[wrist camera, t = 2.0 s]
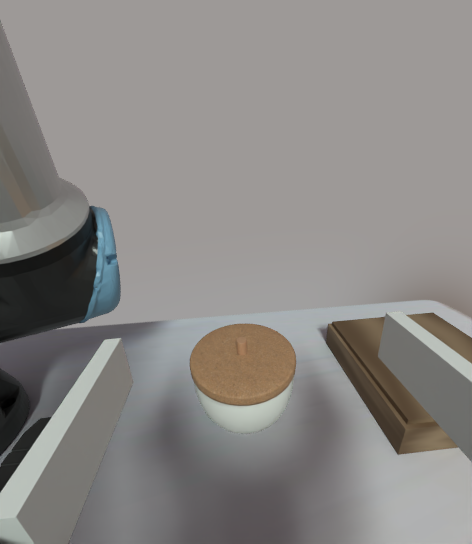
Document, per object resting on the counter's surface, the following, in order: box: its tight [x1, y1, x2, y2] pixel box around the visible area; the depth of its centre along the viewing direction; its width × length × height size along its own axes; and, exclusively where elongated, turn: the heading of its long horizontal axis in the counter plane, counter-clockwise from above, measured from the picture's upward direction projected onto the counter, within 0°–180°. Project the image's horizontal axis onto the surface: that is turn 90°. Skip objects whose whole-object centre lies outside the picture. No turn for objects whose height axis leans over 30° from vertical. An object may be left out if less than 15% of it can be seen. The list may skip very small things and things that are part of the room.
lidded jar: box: [190, 324, 296, 434], centre depth 26 cm, size 11×11×9 cm
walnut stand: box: [326, 313, 472, 454], centre depth 30 cm, size 16×16×4 cm
